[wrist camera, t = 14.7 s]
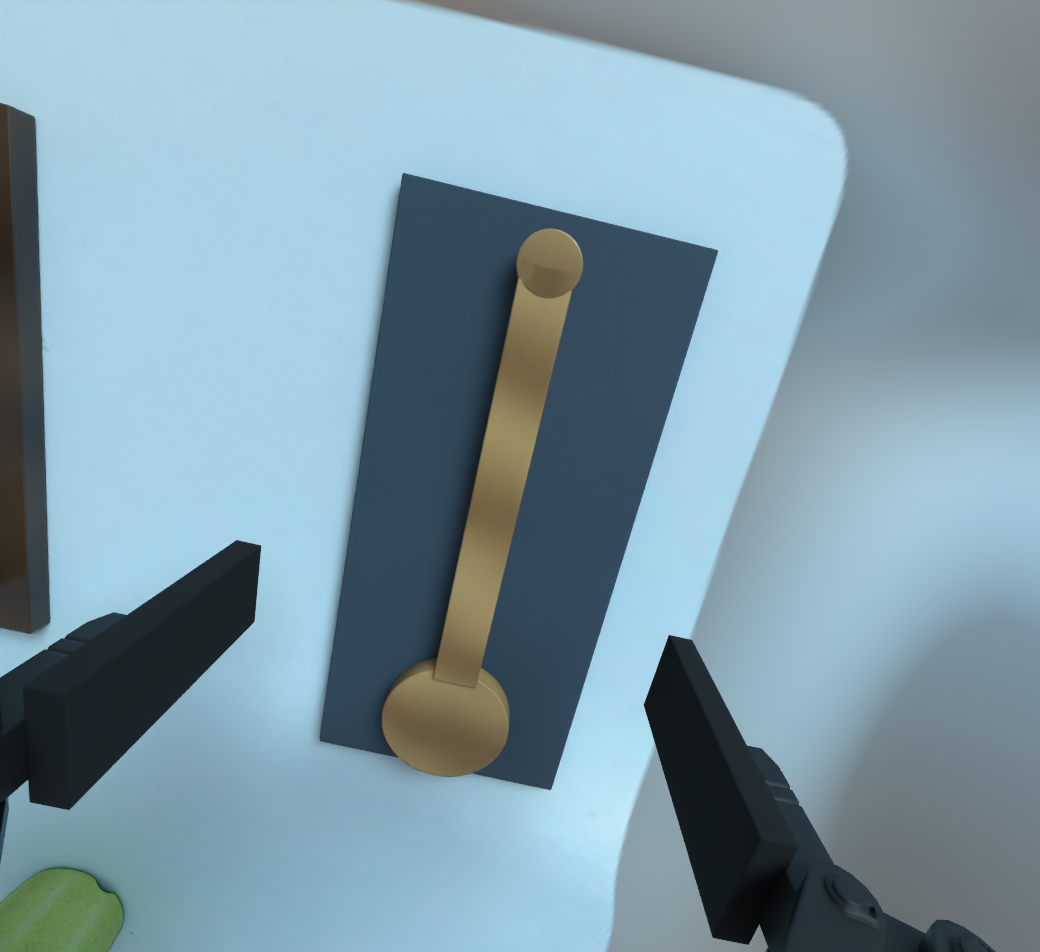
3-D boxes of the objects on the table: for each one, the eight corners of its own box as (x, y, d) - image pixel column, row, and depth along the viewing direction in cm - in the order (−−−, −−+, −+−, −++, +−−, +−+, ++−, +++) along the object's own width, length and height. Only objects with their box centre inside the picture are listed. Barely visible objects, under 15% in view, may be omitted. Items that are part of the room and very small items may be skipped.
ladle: (477, 217, 18) (473, 208, 17) (634, 255, 18) (640, 249, 17) (378, 746, 25) (370, 766, 24) (495, 771, 25) (493, 792, 24)
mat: (406, 177, 19) (402, 172, 18) (713, 252, 19) (718, 249, 18) (323, 732, 25) (319, 741, 25) (550, 780, 26) (551, 790, 25)
